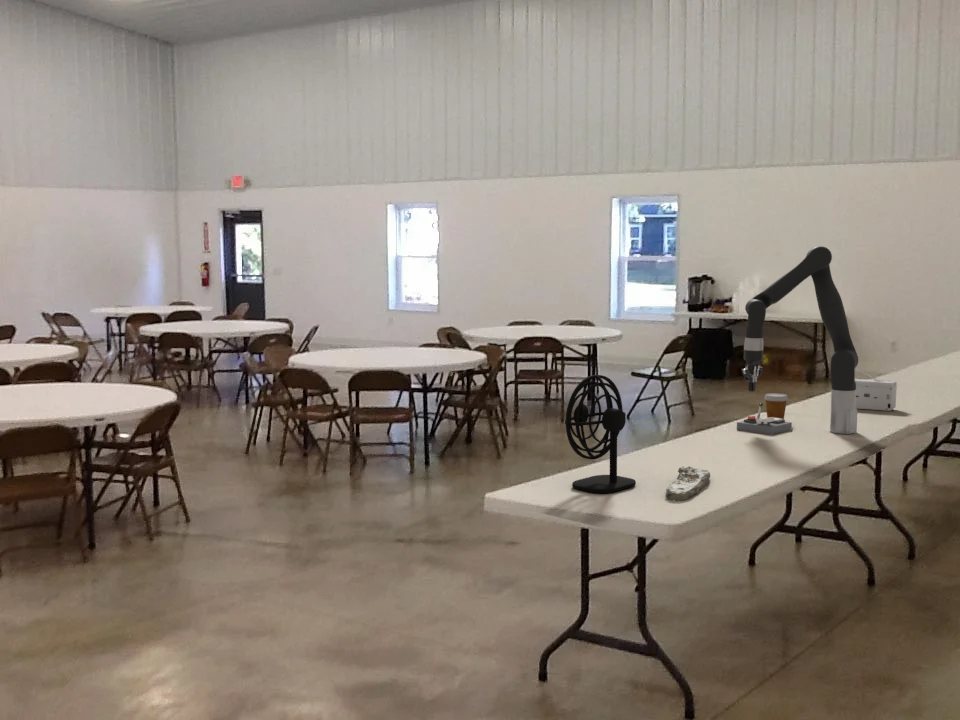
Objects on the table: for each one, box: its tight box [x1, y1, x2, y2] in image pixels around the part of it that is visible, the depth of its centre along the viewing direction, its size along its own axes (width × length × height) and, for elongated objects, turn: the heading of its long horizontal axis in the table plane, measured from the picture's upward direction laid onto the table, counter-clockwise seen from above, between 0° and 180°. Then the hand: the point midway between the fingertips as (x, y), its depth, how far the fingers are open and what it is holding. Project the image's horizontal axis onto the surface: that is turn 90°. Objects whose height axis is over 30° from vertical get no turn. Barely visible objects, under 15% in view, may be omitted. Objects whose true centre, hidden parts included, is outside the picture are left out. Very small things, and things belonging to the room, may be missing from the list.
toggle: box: [756, 402, 764, 419], centre depth 423 cm, size 2×2×7 cm
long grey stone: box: [665, 466, 711, 502], centre depth 318 cm, size 35×5×10 cm
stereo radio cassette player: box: [855, 367, 898, 412], centre depth 463 cm, size 21×8×20 cm, turn 58°
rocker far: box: [756, 417, 775, 424], centre depth 410 cm, size 6×4×2 cm, turn 43°
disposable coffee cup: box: [764, 392, 789, 420], centre depth 430 cm, size 10×10×12 cm
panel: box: [736, 417, 793, 435], centre depth 415 cm, size 16×15×4 cm
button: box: [747, 414, 756, 420], centre depth 416 cm, size 3×3×1 cm
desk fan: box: [564, 374, 637, 494], centre depth 319 cm, size 27×18×35 cm, turn 134°
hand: (751, 391), depth 415 cm, fingers closed
